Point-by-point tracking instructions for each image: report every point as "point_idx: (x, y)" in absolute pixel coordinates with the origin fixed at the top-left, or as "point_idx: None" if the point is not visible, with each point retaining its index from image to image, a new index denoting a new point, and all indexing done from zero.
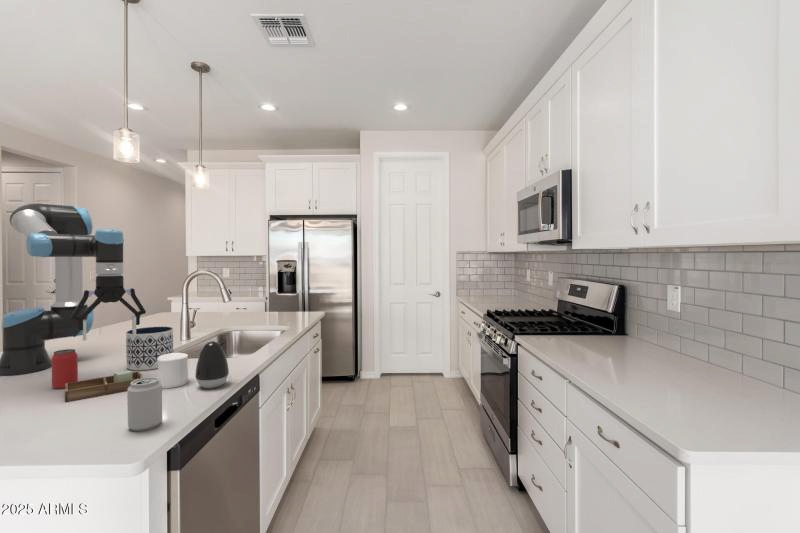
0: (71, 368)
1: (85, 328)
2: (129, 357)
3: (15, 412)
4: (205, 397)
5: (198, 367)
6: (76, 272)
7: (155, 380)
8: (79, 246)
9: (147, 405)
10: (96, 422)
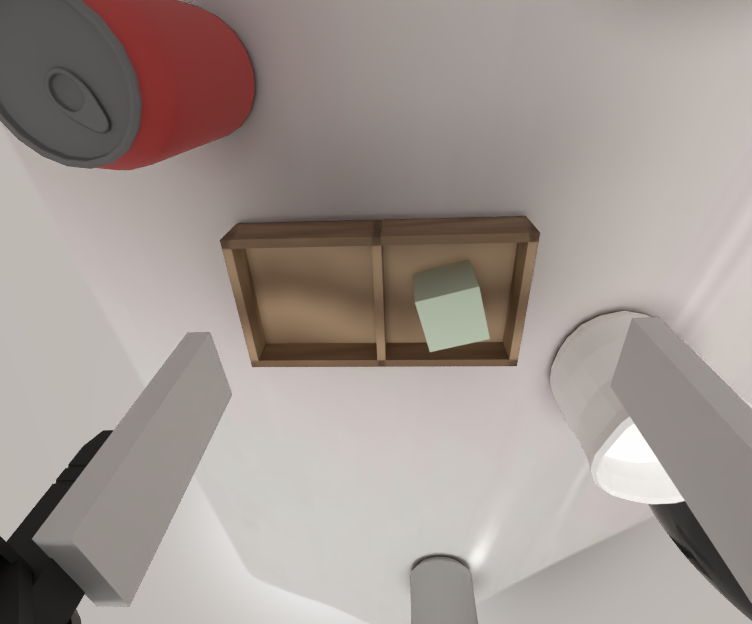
0: (196, 144)
1: (175, 496)
2: None
3: (145, 350)
4: (606, 514)
5: (676, 538)
6: None
7: None
8: None
9: None
10: (358, 515)
